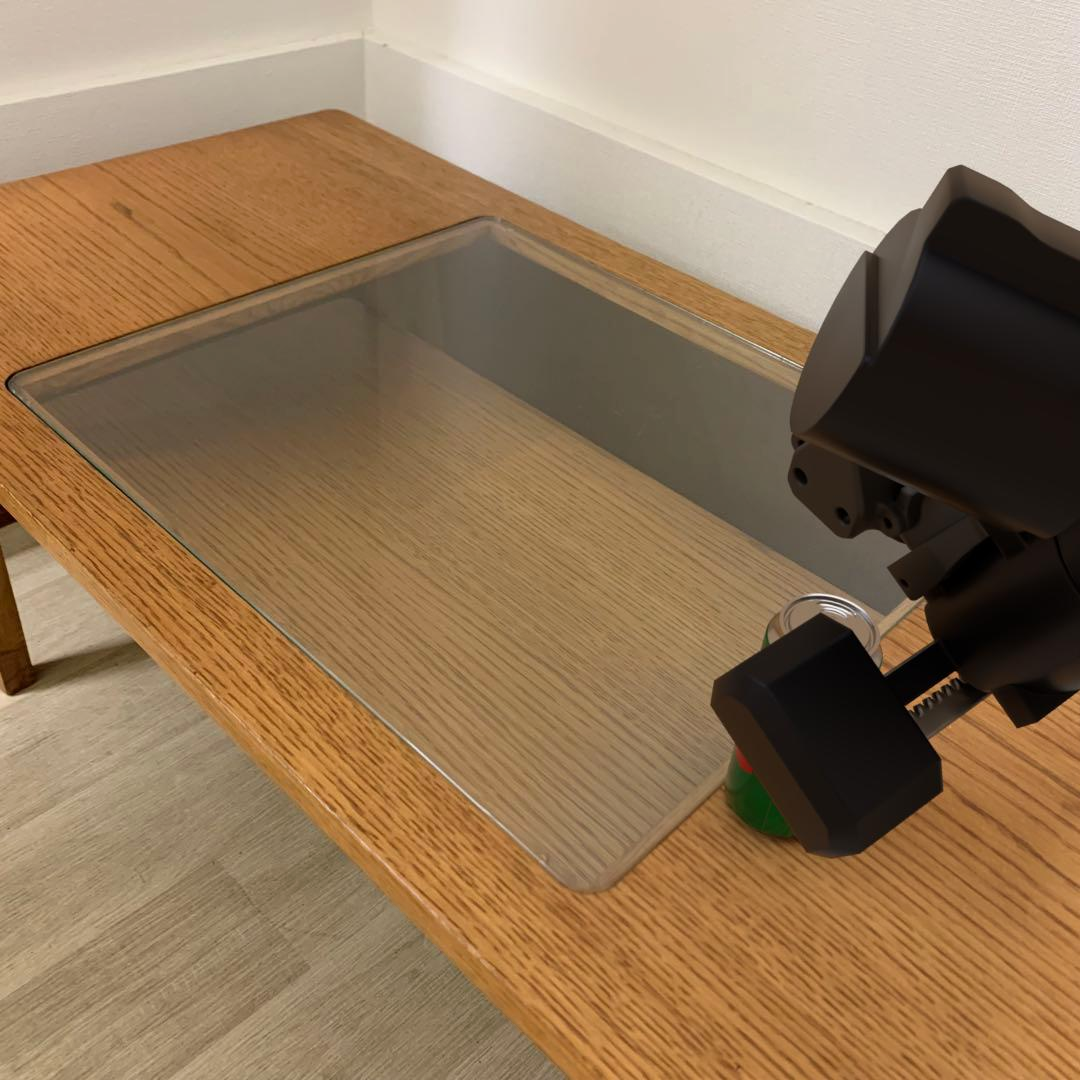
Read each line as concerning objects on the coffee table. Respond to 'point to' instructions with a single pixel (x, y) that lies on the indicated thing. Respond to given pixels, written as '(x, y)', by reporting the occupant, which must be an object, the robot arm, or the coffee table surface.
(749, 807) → the soda can
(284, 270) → the coffee table surface
